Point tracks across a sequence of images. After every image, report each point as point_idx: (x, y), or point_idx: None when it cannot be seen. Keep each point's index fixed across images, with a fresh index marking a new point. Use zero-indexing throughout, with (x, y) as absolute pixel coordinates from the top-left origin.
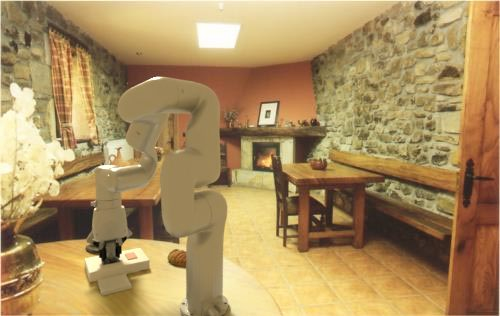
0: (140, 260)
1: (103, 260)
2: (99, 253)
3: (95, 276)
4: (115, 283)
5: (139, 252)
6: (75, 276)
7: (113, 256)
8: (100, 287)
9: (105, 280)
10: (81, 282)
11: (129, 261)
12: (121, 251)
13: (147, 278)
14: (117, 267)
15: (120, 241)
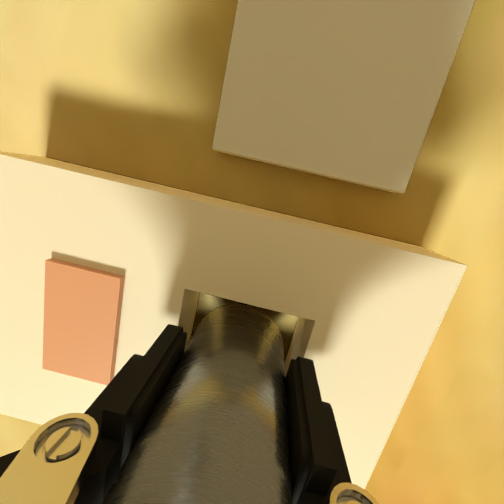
0: (44, 193)
1: (305, 359)
2: (338, 447)
3: (398, 245)
4: (338, 36)
5: (10, 341)
6: (434, 377)
7: (220, 344)
8: (452, 54)
9: (365, 150)
10: None
11: (125, 240)
12: (124, 367)
13: (105, 11)
14: (243, 211)
15: (25, 491)
